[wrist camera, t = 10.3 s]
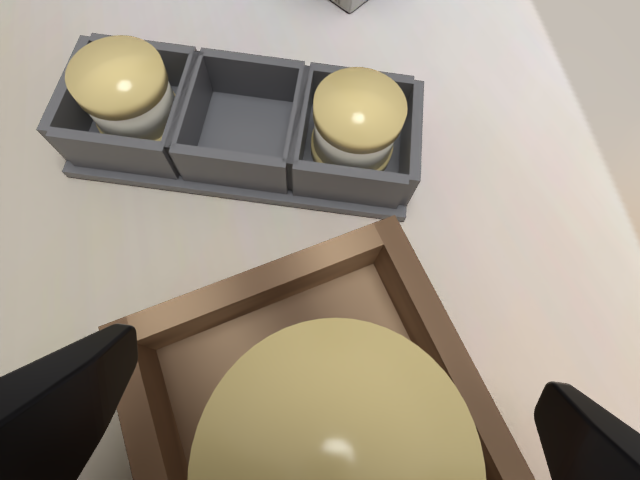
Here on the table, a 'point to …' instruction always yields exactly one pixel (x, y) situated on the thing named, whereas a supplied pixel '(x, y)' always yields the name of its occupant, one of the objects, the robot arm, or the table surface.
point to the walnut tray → (276, 314)
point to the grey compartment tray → (239, 137)
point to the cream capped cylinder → (336, 411)
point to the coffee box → (349, 4)
